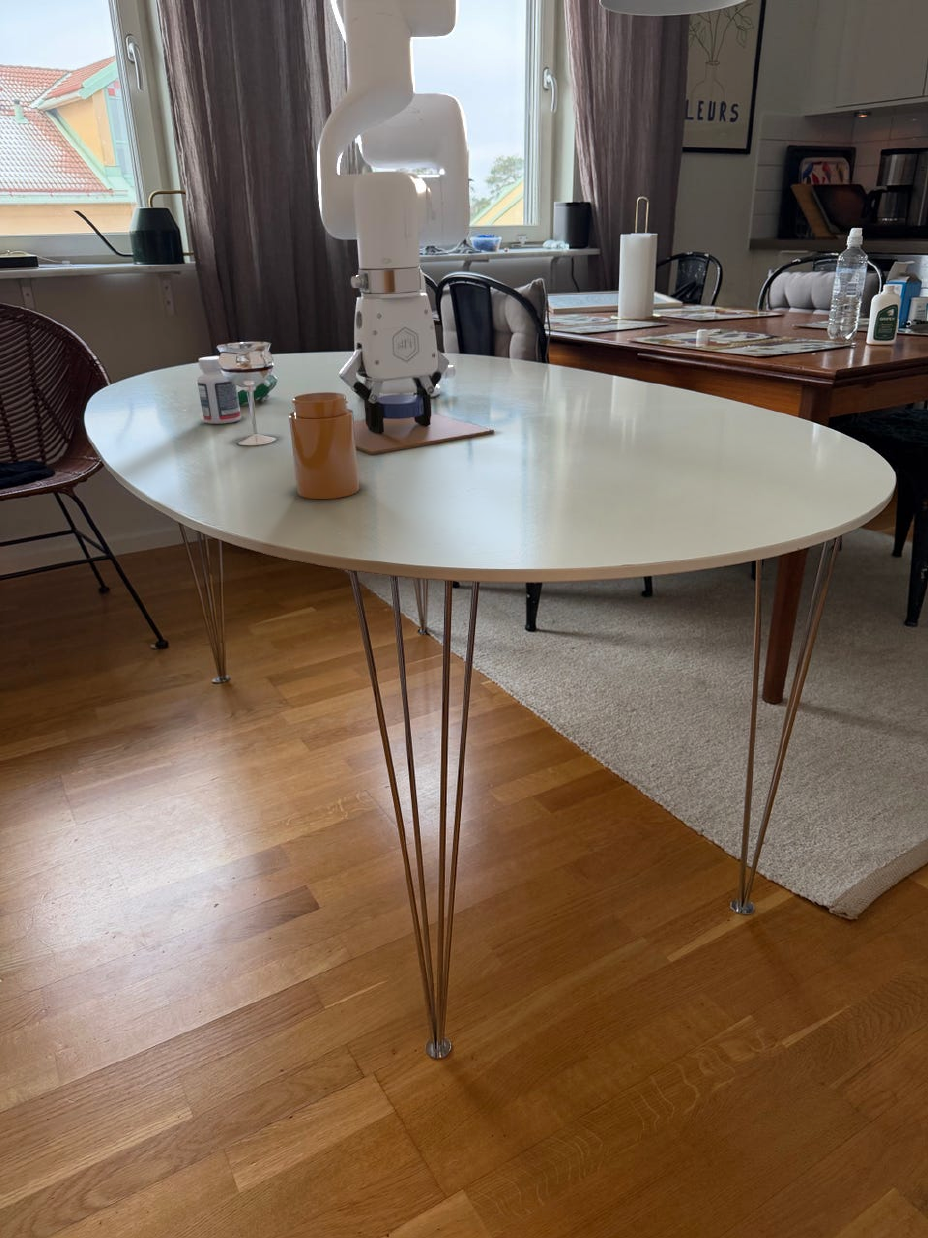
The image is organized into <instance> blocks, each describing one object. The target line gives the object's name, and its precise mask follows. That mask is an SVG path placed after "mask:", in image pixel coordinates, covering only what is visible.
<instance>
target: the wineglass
mask: <svg viewBox="0 0 928 1238" xmlns="http://www.w3.org/2000/svg"><path fill="white" fill-rule="evenodd" d="M271 345H272V343H271V342H268V341H240V342H239V341H238V342H229V343H223V344H218V345H217V346H216V349H217V350H218V351H219V353H220V354H219V355H218V356H219V362H218V363H219V366H220V370H221V372H222V374H223V376H224V377H226V378H227V379H228V380H229V381H230V382H231V383H233V384H235V385H236V386H237V387H239V388H242V390H244V391H247V396H248V401H249V403H248V406H249V414H250V418H251V423H252V424H251V425H252V430H253V434H251V435H249V436H245V437H244V438H241V439H239V440H237V441H236V443H237V444H238V445H243V446H259V445H266V444H270V443H273V442H275V441H277V440H276V437H273V436H270V435H264V434H260V433H258V430H257V417H256V408H255V401H254V395H253V391H255V390H256V386H258V385H260V384H261V383H263V382H264V381H266V379H267V378H268V377H269V375H270V374H271V373H272V374H273V370H274V358H273V355H272V354H271V352H270V347H271Z"/></svg>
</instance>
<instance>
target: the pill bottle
mask: <svg viewBox="0 0 928 1238" xmlns="http://www.w3.org/2000/svg"><path fill="white" fill-rule="evenodd" d="M219 356H220V355H213V356H203V357H200V358H198V366H199V369H200V370H201V374H199V375H198V376H197V380H196V381H197V387H198V393H199V400H200V405H201V412H202V417H203V422H204V423H205V424H208V425H224V424H231V423H236V422H238V421H240V420H241V419H242V415H241V408H240V407H241V406H239V400H238V394H237V392H238V386H237V385H235V384H233V383H231V382H230V381H229V380H228V379H227V378H226V377H224V376H223V374H222V372H221V370H220V366H219V363H218V362H219Z"/></svg>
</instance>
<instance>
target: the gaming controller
mask: <svg viewBox="0 0 928 1238" xmlns="http://www.w3.org/2000/svg"><path fill="white" fill-rule="evenodd" d="M277 383H278V378H277V377H276V375H275V374H273V372H272V373H271V374H270V375H269V377H268V378H267V379H266V381H264V382H263V383H261V384H260V385H258V386H256V390H255V391H253V395H254V402H261V403H264V402H265V400H268V398H269V397H270V396H271V394H270V392H271V391H272V390H273V389H274V388H275V387H276V386H277ZM237 394H238V400H239V407H241V406H244V405H247V404H248V405H249V401H248V396H247V391H244V390H243V389H241V390H239V391H237Z"/></svg>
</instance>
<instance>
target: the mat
mask: <svg viewBox="0 0 928 1238" xmlns="http://www.w3.org/2000/svg"><path fill="white" fill-rule="evenodd" d="M431 413H432V414H431V417H430V422H431V424H430V425H428V426H425V425H422V424H419V423H416V422H415V421H414V417H411V418H403V419H386V418H383V423H384V432H383V433H381V434H377V433H375V432H372V431H369V429H368V426H367V425H366V419H365V418H363V419H358V420H357V419H356V420H354V428H355V440H356V450H359V451H361V452H363V453H367V454H369V455H379V454H384V453H389V452H390V453H391V452H396V451H402V450H406V449H412V448H417V447H424V446H430V445H434V444H440V443H447V442H451V441H457V440H463V439H467V438H474V437H480V436H485V435H490V434H491V435H492V434H494V433H495V429H492V428H489V427H484V426H481V425H477V424H474V423H469V422H467V421H463V420H459V419H455V418H453V417H448V416H445V415H441V414H437V413H434V412H431Z"/></svg>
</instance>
